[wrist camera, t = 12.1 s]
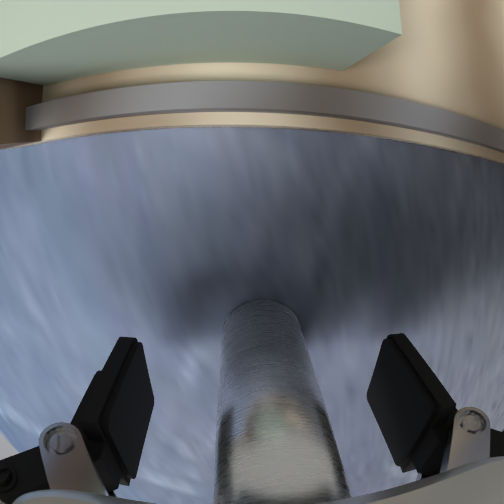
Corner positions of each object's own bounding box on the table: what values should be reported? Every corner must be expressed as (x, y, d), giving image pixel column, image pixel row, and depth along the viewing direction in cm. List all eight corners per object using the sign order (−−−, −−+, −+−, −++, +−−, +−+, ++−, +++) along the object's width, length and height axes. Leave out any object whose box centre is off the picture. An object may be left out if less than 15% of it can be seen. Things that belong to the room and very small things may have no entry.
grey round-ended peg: (303, 298, 12) (394, 553, 3) (295, 362, 13) (346, 581, 4) (221, 299, 12) (202, 576, 3) (223, 363, 13) (216, 593, 4)
